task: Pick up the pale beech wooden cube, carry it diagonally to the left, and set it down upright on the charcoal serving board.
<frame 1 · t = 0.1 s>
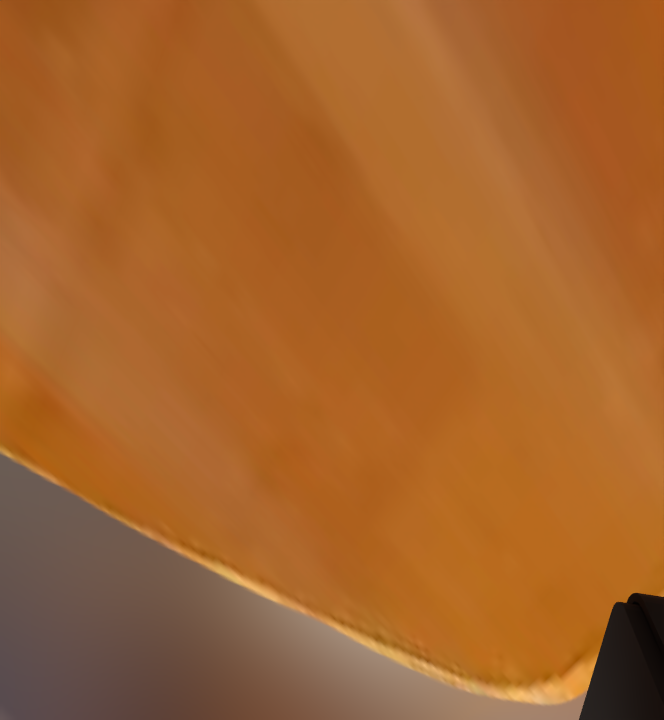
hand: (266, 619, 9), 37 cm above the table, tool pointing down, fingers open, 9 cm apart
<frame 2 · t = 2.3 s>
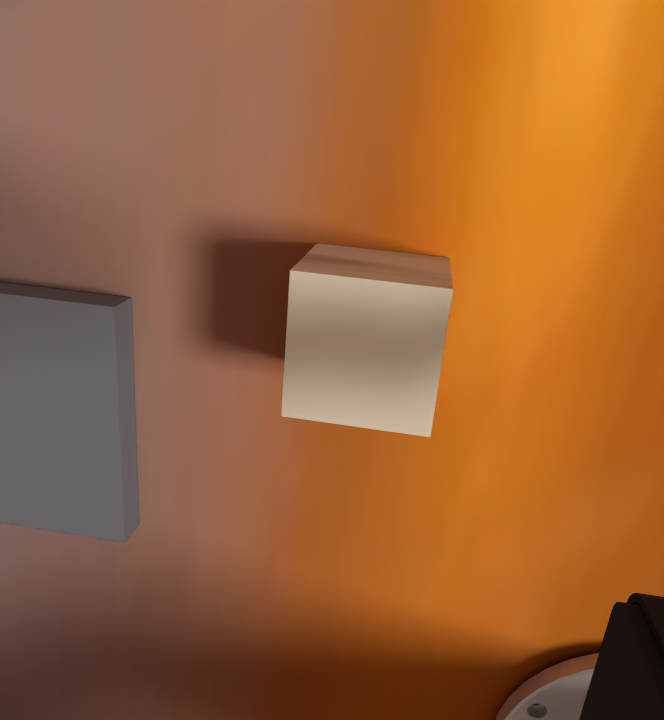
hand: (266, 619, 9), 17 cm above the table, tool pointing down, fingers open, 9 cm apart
beech cube: (375, 313, 25), on the table
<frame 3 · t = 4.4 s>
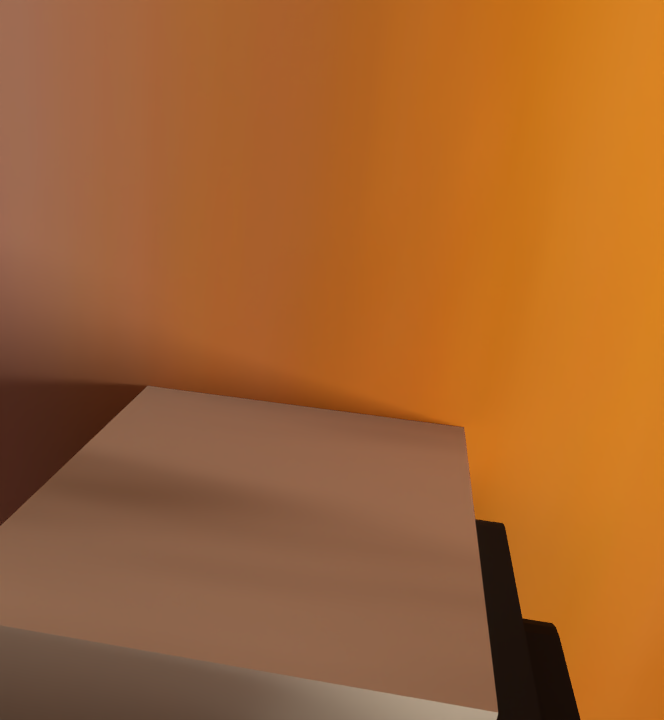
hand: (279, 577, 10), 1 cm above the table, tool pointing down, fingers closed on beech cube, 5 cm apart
beech cube: (292, 539, 11), on the table, touching gripper
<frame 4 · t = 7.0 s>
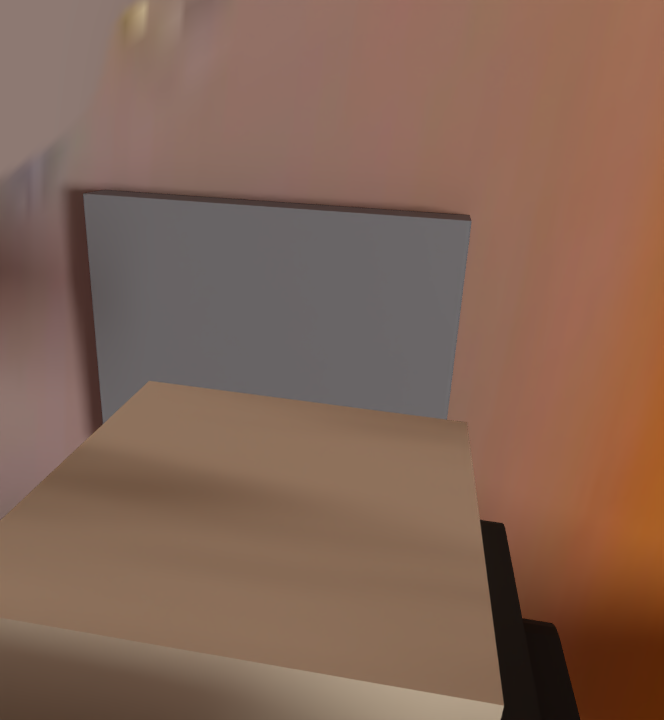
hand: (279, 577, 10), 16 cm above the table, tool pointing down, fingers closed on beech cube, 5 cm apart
serving board: (276, 341, 26), on the table
beech cube: (294, 534, 11), point 15 cm above the table, touching gripper
when the fingers open (4 cm above the table, at t = 9.9 s): beech cube drops 1 cm, resting on serving board.
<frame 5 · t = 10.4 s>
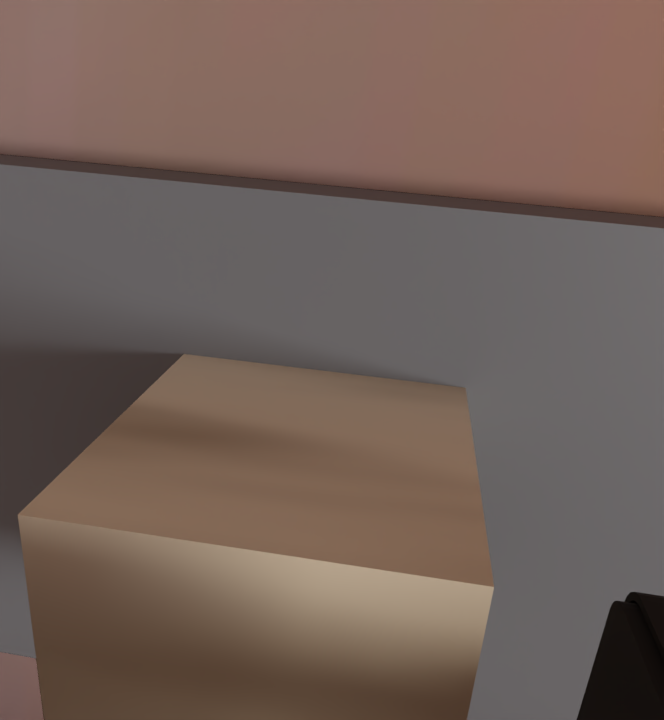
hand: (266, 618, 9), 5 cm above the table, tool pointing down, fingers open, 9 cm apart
serving board: (319, 453, 13), on the table
beech cube: (312, 492, 12), point 1 cm above the table, touching serving board
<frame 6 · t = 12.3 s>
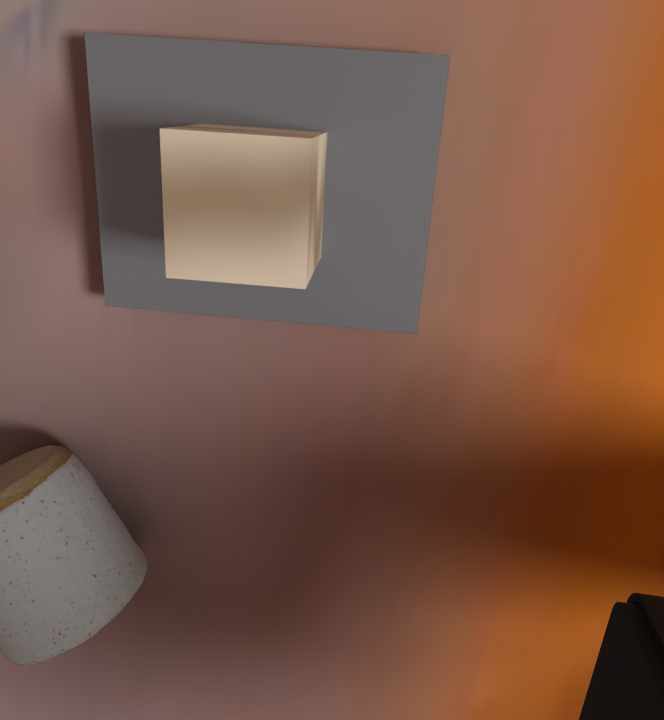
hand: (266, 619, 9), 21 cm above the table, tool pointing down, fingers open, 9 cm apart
ceramic mug: (60, 511, 35), on the table
serving board: (267, 188, 27), on the table
beech cube: (263, 192, 26), point 1 cm above the table, touching serving board
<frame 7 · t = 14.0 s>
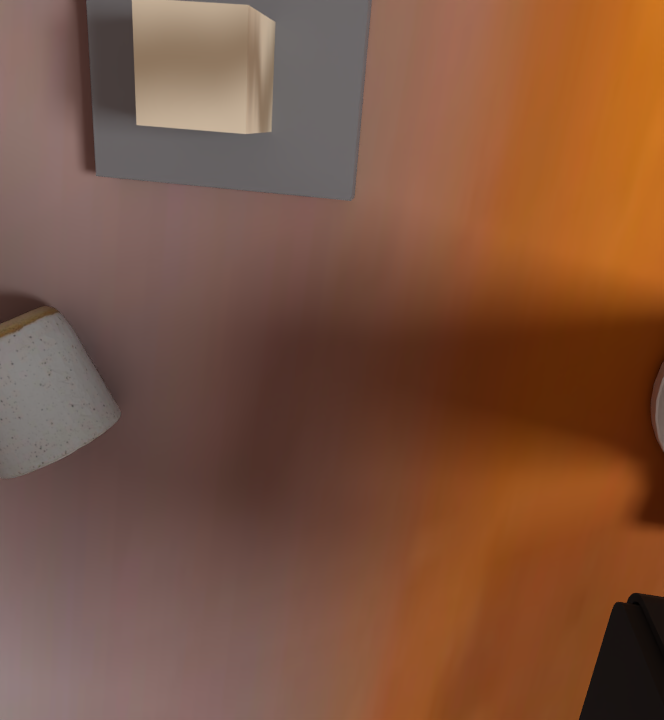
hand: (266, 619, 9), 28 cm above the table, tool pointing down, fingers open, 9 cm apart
ceramic mug: (51, 375, 41), on the table
serving board: (230, 77, 33), on the table
beech cube: (224, 75, 32), point 1 cm above the table, touching serving board
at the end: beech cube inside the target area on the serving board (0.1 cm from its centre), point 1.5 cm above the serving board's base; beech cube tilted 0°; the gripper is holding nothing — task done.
